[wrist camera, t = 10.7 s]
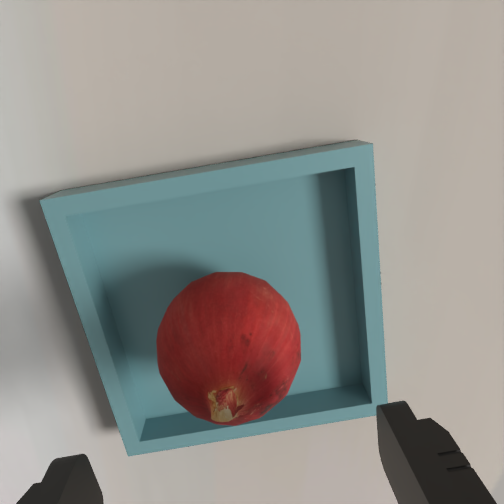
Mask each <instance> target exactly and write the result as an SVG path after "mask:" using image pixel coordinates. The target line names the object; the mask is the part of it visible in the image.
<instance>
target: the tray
mask: <svg viewBox="0 0 504 504" xmlns="http://www.w3.org/2000/svg"><path fill="white" fill-rule="evenodd" d="M39 201H40V204H41V207H42V210H43V213H44V215H45V218H46V221H47V224H48V227H49V230H50V233H51V236H52V238H53V241H54V244H55V247H56V250H57V253H58V256H59V259H60V262H61V264H62V267H63V270H64V273H65V276H66V279H67V282H68V285H69V287H70V290H71V293H72V296H73V299H74V302H75V305H76V308H77V311H78V313H79V316H80V319H81V322H82V325H83V328H84V331H85V334H86V336H87V339H88V342H89V345H90V348H91V351H92V354H93V357H94V359H95V362H96V365H97V368H98V371H99V374H100V377H101V380H102V383H103V385H104V388H105V391H106V394H107V397H108V400H109V403H110V406H111V408H112V411H113V414H114V417H115V420H116V423H117V426H118V429H119V432H120V434H121V437H122V440H123V443H124V446H125V449H126V452H127V455H128V456H133V455H139V454H145V453H151V452H157V451H163V450H169V449H175V448H182V447H188V446H194V445H200V444H206V443H212V442H218V441H224V440H230V439H236V438H242V437H248V436H254V435H260V434H266V433H272V432H278V431H284V430H290V429H297V428H303V427H309V426H315V425H321V424H327V423H333V422H339V421H345V420H351V419H357V418H363V417H369V416H375V415H376V407H377V405H381V404H387V403H388V398H387V381H386V364H385V346H384V329H383V312H382V294H381V277H380V260H379V243H378V225H377V208H376V191H375V173H374V156H373V143H368V142H364V141H359V140H353V141H347V142H341V143H335V144H330V145H324V146H318V147H312V148H306V149H300V150H294V151H289V152H283V153H277V154H271V155H265V156H259V157H253V158H248V159H242V160H236V161H230V162H224V163H218V164H213V165H207V166H201V167H195V168H189V169H183V170H177V171H172V172H166V173H160V174H154V175H148V176H142V177H137V178H131V179H125V180H119V181H113V182H107V183H101V184H96V185H90V186H84V187H78V188H72V189H66V190H61V191H59V192H57V193H54V194H52V195H50V196H48V197H46V198H44V199H42V200H39ZM214 272H243V273H246V274H249V275H252V276H254V277H257V278H260V279H263V280H265V281H266V282H268V283H269V284H270V285H271V286H272V287H273V288H274V289H275V290H276V291H277V292H278V293H279V294H281V295H282V296H283V298H284V299H285V300H286V301H287V302H288V304H289V306H290V308H291V310H292V312H293V314H294V316H295V318H296V321H297V323H298V325H299V330H300V335H301V362H300V365H299V367H298V370H297V372H296V375H295V377H294V379H293V382H292V384H291V387H290V389H289V391H288V394H287V395H286V396H285V397H284V399H283V400H281V401H280V402H279V403H278V404H277V405H275V406H274V407H273V408H272V409H271V410H269V411H268V412H267V413H266V414H265V415H263V416H262V417H260V418H259V419H255V420H252V421H249V422H246V423H243V424H240V425H237V426H231V425H217V424H214V423H211V422H209V421H206V420H203V419H200V418H196V417H195V416H193V415H192V414H191V413H190V412H188V411H187V410H186V409H185V408H183V407H182V406H181V405H180V404H179V403H177V402H176V401H175V400H174V398H173V397H172V395H171V393H170V392H169V390H168V388H167V386H166V384H165V382H164V381H163V379H162V377H161V375H160V373H159V369H158V363H157V344H156V339H157V332H158V328H159V326H160V323H161V321H162V319H163V317H164V314H165V312H166V310H167V308H168V306H169V305H170V303H171V302H172V300H173V299H174V298H175V297H176V296H177V295H178V294H179V293H180V292H181V291H182V290H183V289H184V288H185V287H186V286H187V285H188V284H189V283H190V282H192V281H195V280H197V279H199V278H202V277H204V276H207V275H209V274H212V273H214Z"/></svg>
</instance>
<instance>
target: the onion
mask: <svg viewBox="0 0 504 504" xmlns="http://www.w3.org/2000/svg"><path fill="white" fill-rule="evenodd" d="M156 344H157V363H158V369H159V373H160V375H161V377H162V379H163V381H164V382H165V384H166V386H167V388H168V390H169V392H170V393H171V395H172V397H173V398H174V400H175V401H176V402H177V403H179V404H180V405H181V406H182V407H183V408H185V409H186V410H187V411H188V412H190V413H191V414H192V415H193V416H195V417H196V418H200V419H203V420H206V421H209V422H211V423H214V424H217V425H231V426H237V425H240V424H243V423H246V422H249V421H252V420H255V419H259V418H260V417H262V416H263V415H265V414H266V413H267V412H268V411H269V410H271V409H272V408H273V407H274V406H275V405H277V404H278V403H279V402H280V401H281V400H283V399H284V397H285V396H286V395H287V394H288V391H289V389H290V387H291V384H292V382H293V379H294V377H295V375H296V372H297V370H298V367H299V365H300V362H301V335H300V330H299V325H298V323H297V321H296V318H295V316H294V314H293V312H292V310H291V308H290V306H289V304H288V302H287V301H286V300H285V299H284V298H283V296H282V295H281V294H279V293H278V292H277V291H276V290H275V289H274V288H273V287H272V286H271V285H270V284H269V283H268V282H266V281H265V280H263V279H260V278H257V277H254V276H252V275H249V274H246V273H243V272H214V273H212V274H209V275H207V276H204V277H202V278H199V279H197V280H195V281H192V282H190V283H189V284H188V285H187V286H186V287H185V288H184V289H183V290H182V291H181V292H180V293H179V294H178V295H177V296H176V297H175V298H174V299H173V300H172V302H171V303H170V305H169V306H168V308H167V310H166V312H165V314H164V317H163V319H162V321H161V323H160V326H159V328H158V332H157V339H156Z"/></svg>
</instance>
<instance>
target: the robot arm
mask: <svg viewBox="0 0 504 504" xmlns="http://www.w3.org/2000/svg"><path fill="white" fill-rule="evenodd" d="M376 415H377V430H378V445H379V453H380V457H381V461H382V465H383V468H384V471H385V473H386V476H387V478H388V480H389V483H390V485H391V487H392V490H393V492H394V494H395V497H396V499H397V502H398V504H497V503H496V502H495V500H494V499H493V497H492V496H491V494H490V493H489V491H488V490H487V488H486V487H485V485H484V484H483V482H482V481H481V479H480V478H479V477H478V475H477V474H476V472H475V471H474V469H473V468H471V466H470V463H469V462H468V460H467V459H466V457H465V456H464V454H463V453H461V451H460V448H459V447H458V445H457V444H456V442H455V441H454V439H453V438H452V436H451V435H450V433H449V432H448V431H447V430H446V429H444V428H443V427H442V426H440V425H439V424H438V423H436V422H435V421H434V420H432V419H431V418H427V419H421V420H417V419H416V417H415V415H414V414H413V412H412V410H411V409H410V407H409V405H408V404H407V403H406V402H405V401H399V402H393V403H387V404H381V405H377V407H376ZM16 504H103V495H102V492H101V489H100V487H99V484H98V482H97V479H96V477H95V474H94V472H93V469H92V467H91V464H90V462H89V459H88V457H87V456H86V455H85V454H79V455H73V456H68V457H62V458H56V459H54V460H53V461H52V462H51V464H50V466H49V468H48V470H47V472H46V474H45V476H44V478H43V480H42V482H41V483H35V484H33V485H32V486H31V487H30V489H29V490H28V491H27V492H26V493H25V494H24V495H23V496H22V498H21V499H20V500H19V501H18V502H17V503H16Z"/></svg>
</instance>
